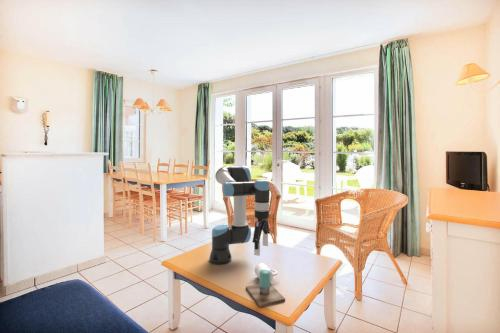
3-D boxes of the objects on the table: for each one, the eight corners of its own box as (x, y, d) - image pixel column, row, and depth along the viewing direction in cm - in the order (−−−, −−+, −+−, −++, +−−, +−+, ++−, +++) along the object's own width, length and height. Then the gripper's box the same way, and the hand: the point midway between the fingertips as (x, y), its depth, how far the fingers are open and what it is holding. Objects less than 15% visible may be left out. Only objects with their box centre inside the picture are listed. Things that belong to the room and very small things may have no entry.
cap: (270, 287, 128) (270, 274, 128) (259, 287, 128) (260, 274, 128) (269, 282, 134) (269, 269, 133) (259, 282, 133) (259, 269, 133)
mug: (259, 285, 141) (259, 271, 140) (254, 276, 150) (254, 263, 150) (279, 282, 144) (279, 268, 143) (273, 274, 153) (273, 261, 153)
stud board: (245, 288, 137) (246, 271, 136) (269, 283, 142) (269, 267, 142) (259, 307, 120) (259, 287, 120) (285, 301, 125) (285, 282, 125)
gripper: (261, 216, 117) (260, 261, 118) (275, 205, 140) (274, 243, 141) (246, 214, 119) (245, 258, 121) (262, 204, 143) (261, 241, 144)
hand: (261, 250), depth 131 cm, fingers open, 13 cm apart
